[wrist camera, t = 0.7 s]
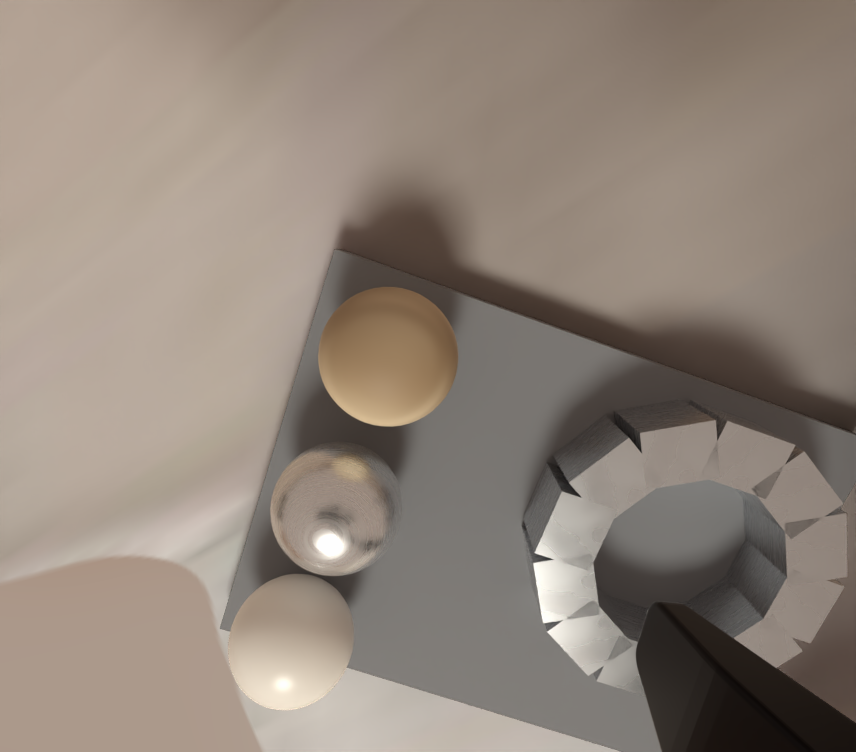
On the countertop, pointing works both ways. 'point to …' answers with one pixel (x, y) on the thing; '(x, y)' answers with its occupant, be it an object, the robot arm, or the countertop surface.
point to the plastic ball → (291, 641)
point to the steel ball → (336, 508)
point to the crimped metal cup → (672, 465)
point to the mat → (511, 510)
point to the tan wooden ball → (388, 356)
